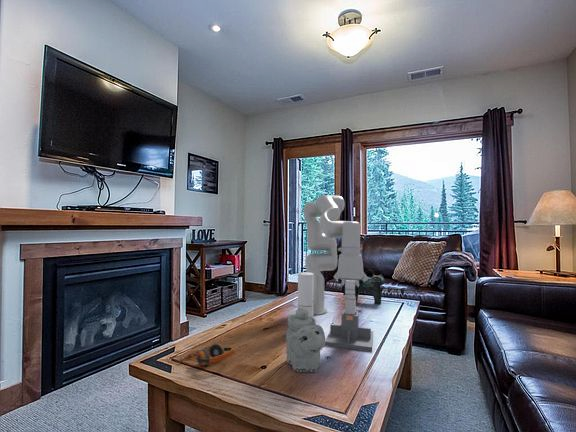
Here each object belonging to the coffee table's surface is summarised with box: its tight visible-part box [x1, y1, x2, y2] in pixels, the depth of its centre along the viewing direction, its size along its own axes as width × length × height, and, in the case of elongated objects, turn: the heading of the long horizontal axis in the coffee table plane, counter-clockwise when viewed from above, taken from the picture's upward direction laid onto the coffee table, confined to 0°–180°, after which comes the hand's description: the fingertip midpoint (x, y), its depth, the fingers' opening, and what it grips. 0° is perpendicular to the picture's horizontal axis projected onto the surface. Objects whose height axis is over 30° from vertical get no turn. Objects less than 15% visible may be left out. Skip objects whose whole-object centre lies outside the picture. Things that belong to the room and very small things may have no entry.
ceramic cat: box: [354, 269, 385, 305], centre depth 190 cm, size 20×6×20 cm, turn 58°
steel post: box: [344, 279, 357, 315], centre depth 128 cm, size 4×4×18 cm
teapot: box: [285, 306, 326, 373], centre depth 103 cm, size 16×15×19 cm
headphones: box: [177, 343, 235, 366], centre depth 107 cm, size 17×5×20 cm
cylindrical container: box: [297, 271, 314, 318], centre depth 141 cm, size 7×7×25 cm
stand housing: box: [324, 309, 374, 352], centre depth 128 cm, size 18×18×11 cm
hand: (350, 294), depth 128 cm, fingers closed on steel post, 4 cm apart
